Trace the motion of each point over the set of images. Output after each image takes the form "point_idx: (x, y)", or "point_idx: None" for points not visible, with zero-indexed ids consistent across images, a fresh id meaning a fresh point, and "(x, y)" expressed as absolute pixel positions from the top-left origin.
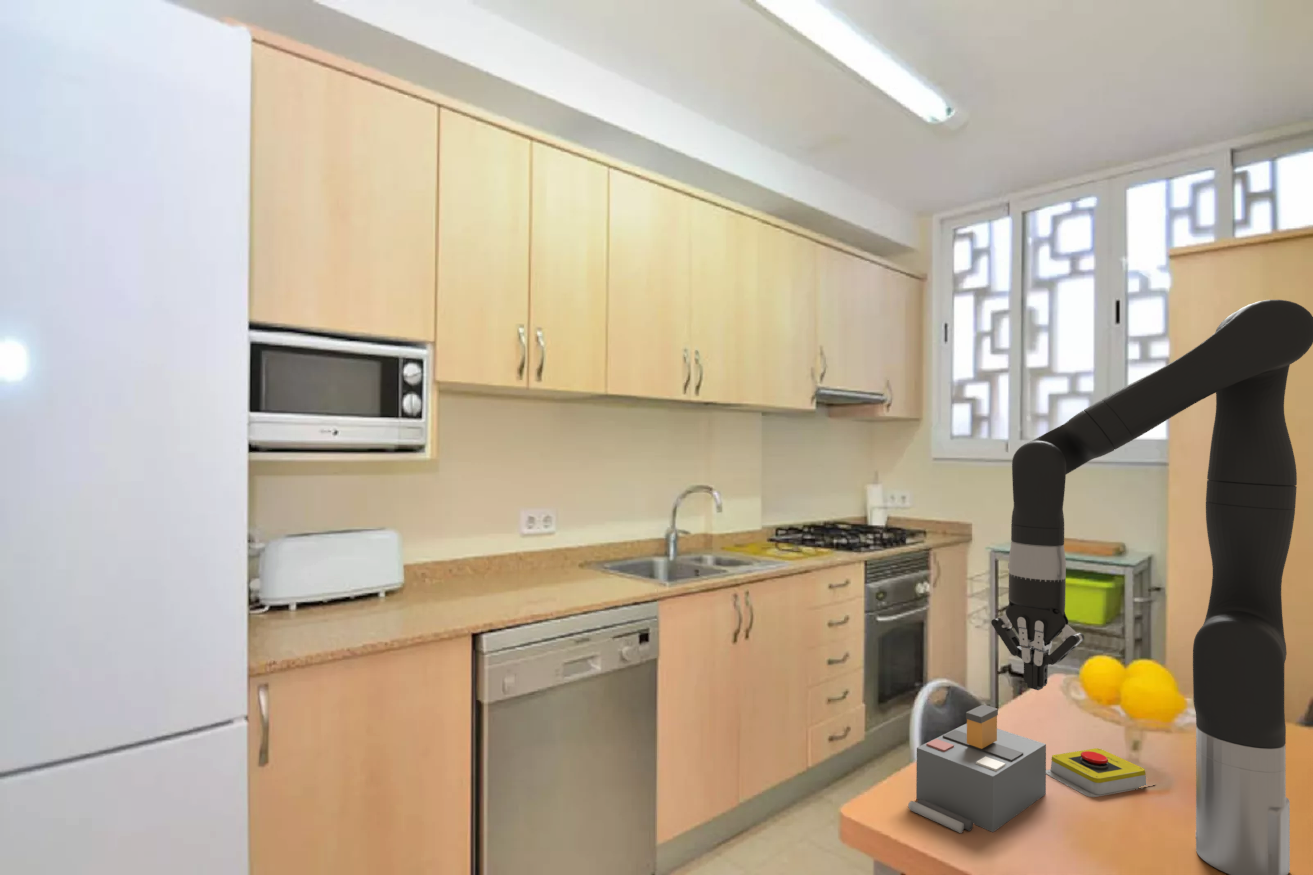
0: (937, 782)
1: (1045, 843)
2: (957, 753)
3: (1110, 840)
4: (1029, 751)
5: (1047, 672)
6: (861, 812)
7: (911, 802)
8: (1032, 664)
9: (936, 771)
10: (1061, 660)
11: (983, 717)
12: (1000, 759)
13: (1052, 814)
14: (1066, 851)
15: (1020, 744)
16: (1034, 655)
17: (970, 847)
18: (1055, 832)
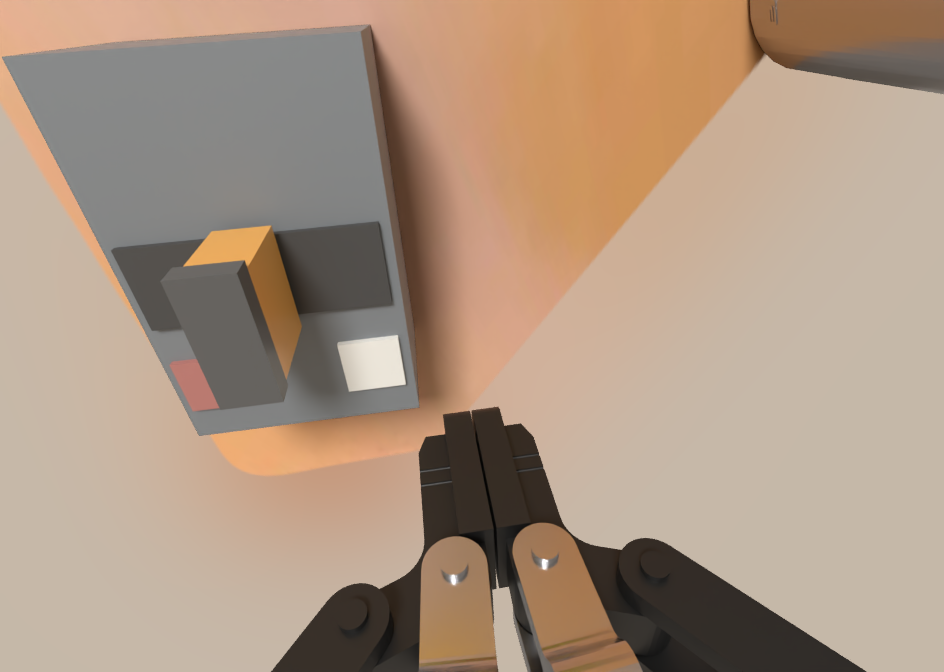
0: None
1: (496, 279)
2: None
3: (583, 144)
4: (372, 175)
5: (549, 485)
6: (243, 460)
7: None
8: (495, 586)
9: None
10: (675, 552)
11: (280, 383)
12: (364, 313)
13: (445, 140)
14: (534, 272)
15: (312, 138)
16: (526, 662)
17: (422, 397)
18: (489, 221)
